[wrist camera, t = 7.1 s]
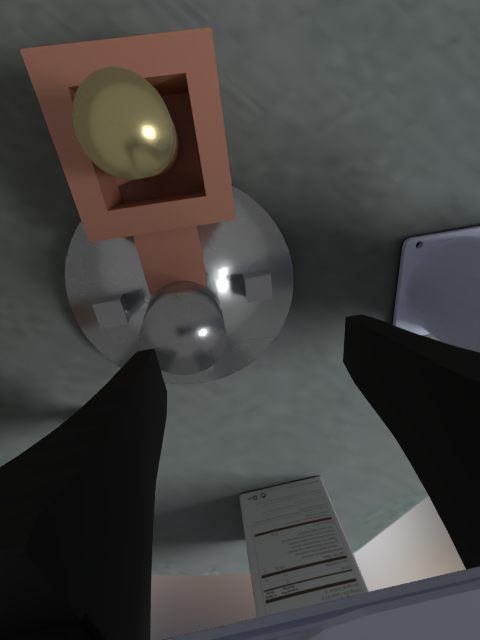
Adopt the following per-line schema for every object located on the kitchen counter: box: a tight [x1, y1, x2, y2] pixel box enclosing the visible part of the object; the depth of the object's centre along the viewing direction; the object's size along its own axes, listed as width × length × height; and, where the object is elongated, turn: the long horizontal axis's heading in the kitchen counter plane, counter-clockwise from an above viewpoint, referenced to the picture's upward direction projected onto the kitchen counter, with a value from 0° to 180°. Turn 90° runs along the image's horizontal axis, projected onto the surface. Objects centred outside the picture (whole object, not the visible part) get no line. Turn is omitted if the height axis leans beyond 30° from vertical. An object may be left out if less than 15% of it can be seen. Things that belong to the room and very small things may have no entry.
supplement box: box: [239, 476, 369, 618], centre depth 26 cm, size 9×9×15 cm
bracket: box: [20, 27, 236, 295], centre depth 15 cm, size 7×10×4 cm
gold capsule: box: [72, 67, 180, 179], centre depth 12 cm, size 3×3×7 cm
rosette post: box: [65, 172, 294, 384], centre depth 17 cm, size 14×14×7 cm
